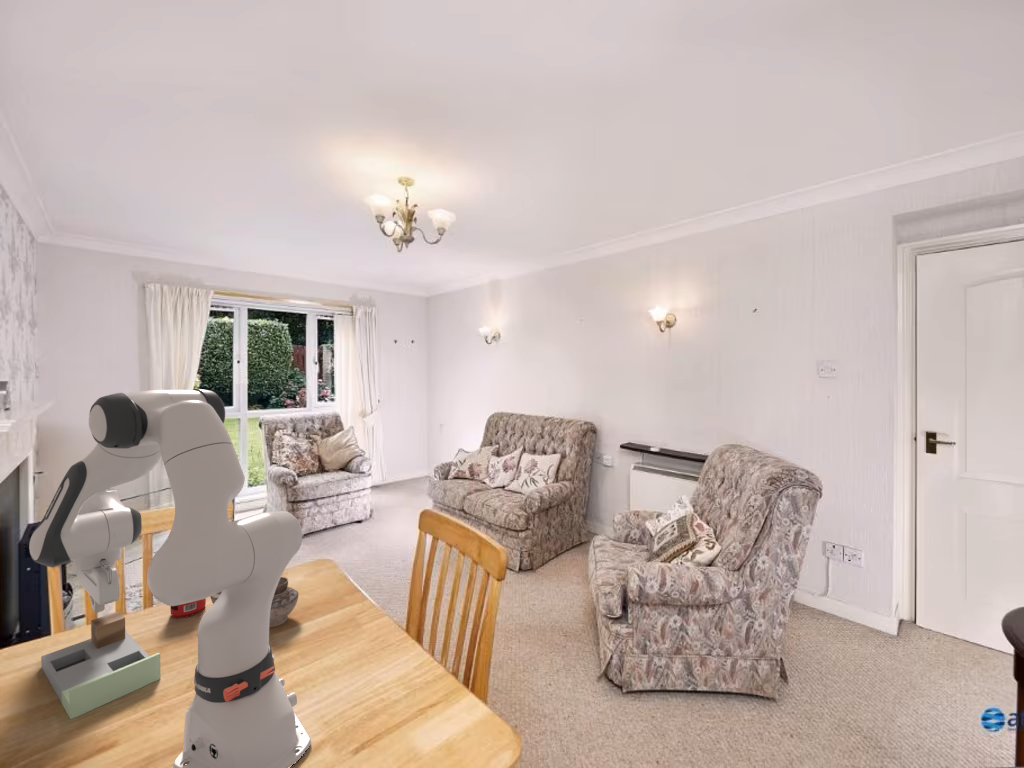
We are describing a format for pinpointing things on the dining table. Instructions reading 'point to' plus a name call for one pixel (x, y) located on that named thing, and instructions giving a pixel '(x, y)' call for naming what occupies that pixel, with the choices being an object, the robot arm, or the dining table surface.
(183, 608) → the canned food
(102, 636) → the walnut block
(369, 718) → the dining table surface
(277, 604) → the pottery
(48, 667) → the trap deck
